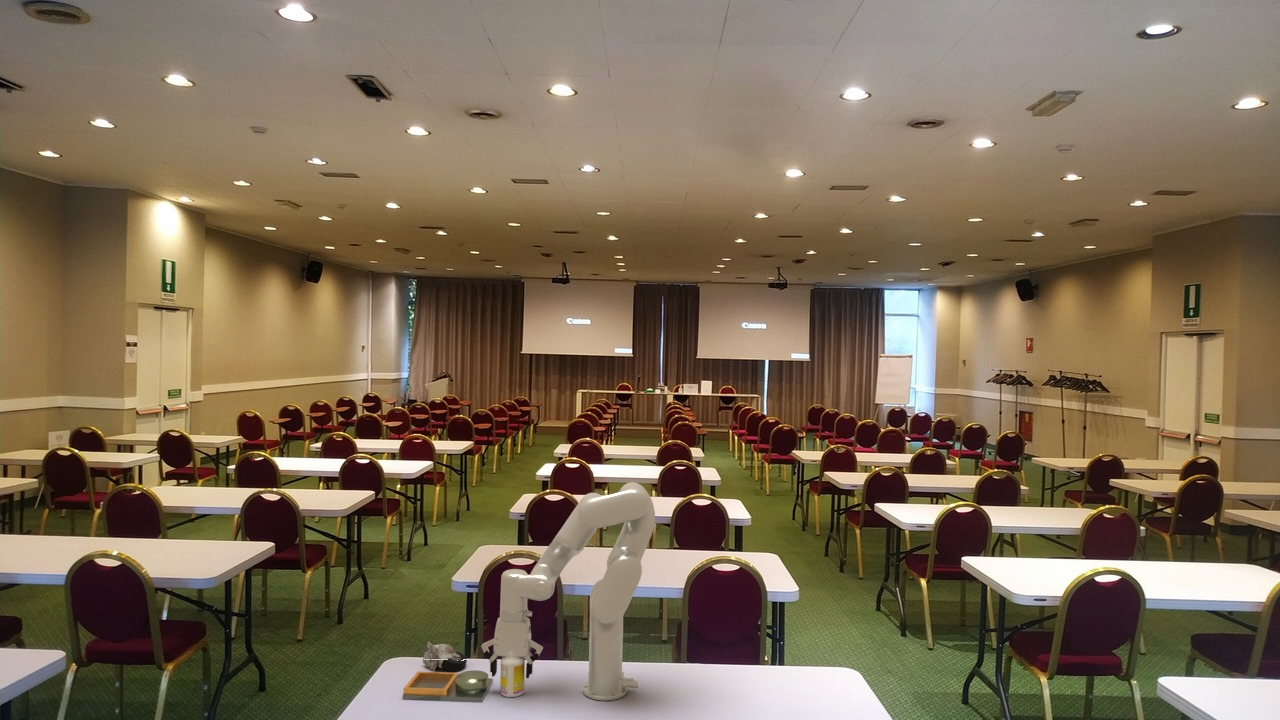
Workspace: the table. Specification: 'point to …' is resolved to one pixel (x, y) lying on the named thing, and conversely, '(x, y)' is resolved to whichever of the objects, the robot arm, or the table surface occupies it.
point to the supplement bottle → (512, 675)
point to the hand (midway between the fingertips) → (511, 675)
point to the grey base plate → (448, 686)
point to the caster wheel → (443, 657)
